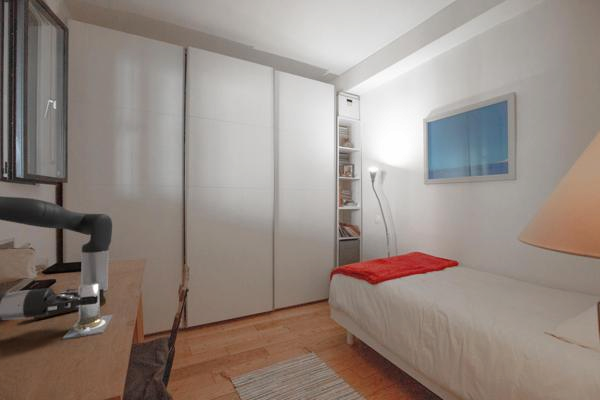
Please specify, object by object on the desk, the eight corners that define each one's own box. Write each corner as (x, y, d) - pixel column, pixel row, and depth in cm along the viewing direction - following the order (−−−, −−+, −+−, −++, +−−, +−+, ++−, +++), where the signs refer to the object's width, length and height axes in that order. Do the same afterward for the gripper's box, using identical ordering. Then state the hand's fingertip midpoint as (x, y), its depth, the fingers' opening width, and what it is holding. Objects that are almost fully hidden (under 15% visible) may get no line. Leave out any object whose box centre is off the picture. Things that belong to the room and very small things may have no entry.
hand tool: (33, 323, 83) (33, 308, 83) (33, 319, 86) (33, 304, 86) (106, 307, 97) (107, 294, 97) (104, 304, 99) (104, 291, 99)
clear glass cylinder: (80, 322, 82) (80, 284, 82) (104, 318, 84) (103, 281, 85) (73, 330, 76) (72, 289, 77) (98, 326, 79) (98, 286, 79)
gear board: (78, 320, 84) (79, 312, 85) (112, 315, 88) (112, 308, 88) (62, 339, 73) (62, 330, 73) (102, 333, 76) (102, 324, 76)
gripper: (14, 298, 68) (94, 290, 75) (41, 283, 81) (106, 277, 88) (13, 327, 68) (93, 317, 75) (40, 308, 81) (106, 300, 88)
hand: (100, 295), depth 82 cm, fingers open, 6 cm apart
